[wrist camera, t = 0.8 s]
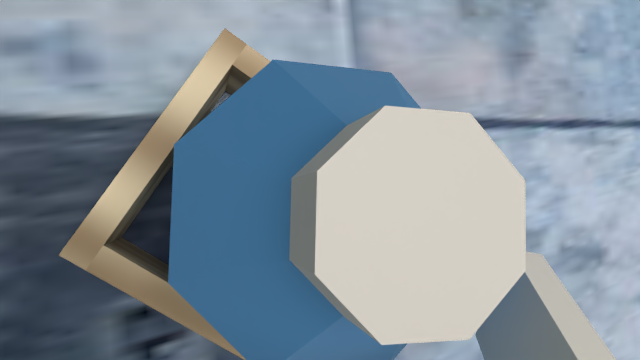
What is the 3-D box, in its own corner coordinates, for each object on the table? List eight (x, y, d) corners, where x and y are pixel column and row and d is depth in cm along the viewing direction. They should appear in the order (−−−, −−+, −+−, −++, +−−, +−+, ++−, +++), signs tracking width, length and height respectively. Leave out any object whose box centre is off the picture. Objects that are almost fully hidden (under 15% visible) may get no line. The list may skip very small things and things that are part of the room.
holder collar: (219, 60, 31) (224, 28, 26) (386, 179, 34) (425, 174, 29) (86, 244, 29) (58, 255, 23) (281, 357, 32) (300, 391, 26)
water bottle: (334, 176, 33) (696, 103, 9) (283, 296, 32) (556, 581, 8) (216, 120, 31) (288, -164, 7) (156, 245, 30) (-9, 418, 6)
